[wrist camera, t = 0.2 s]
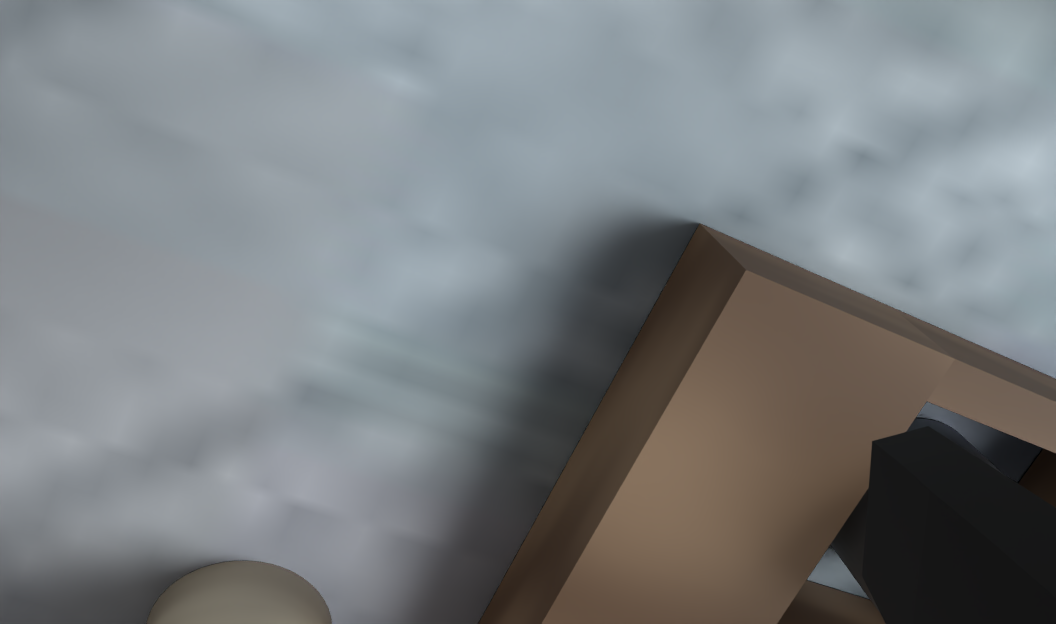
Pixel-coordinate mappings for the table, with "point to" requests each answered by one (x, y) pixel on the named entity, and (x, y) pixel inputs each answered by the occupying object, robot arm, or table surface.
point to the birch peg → (240, 597)
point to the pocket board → (751, 449)
